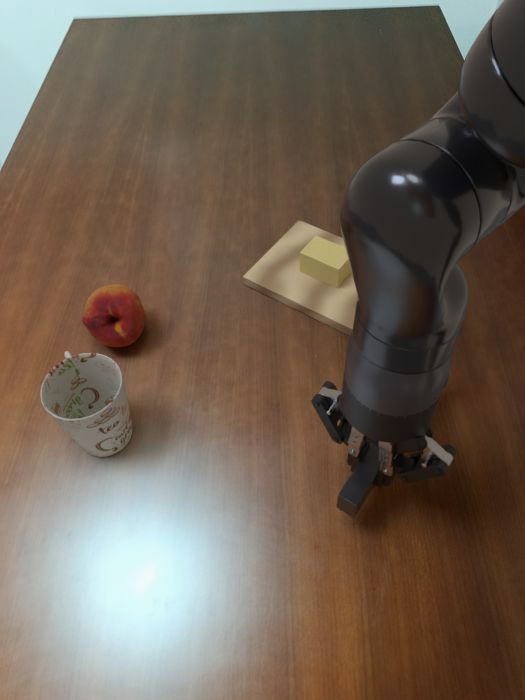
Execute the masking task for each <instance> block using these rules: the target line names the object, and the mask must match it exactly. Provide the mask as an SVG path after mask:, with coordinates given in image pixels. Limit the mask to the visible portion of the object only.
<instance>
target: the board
mask: <svg viewBox="0 0 525 700" xmlns="http://www.w3.org/2000/svg"><path fill="white" fill-rule="evenodd" d="M315 236H318V237H321V238H323V239H326V240H328V241H330V242H333V243H335V244H337V245H340V246H342V247H345V244H344V240H343V237H342V236H339V235H336V234H334V233H332V232H329V231H326V230H324V229H321V228H319V227H318V226H315V225H312V224H310V223H307V222H305V221H302V220H300V219H298V220H297V221H296V222H295V223H294V224H293V225H292V226H291V227H290V228H289V229H288V230H287V231H286V232H285V234H283V235H282V236H281V237H280V238H279V239H278V240H277V241H276V242H275V244H274V245H272V246H271V248H270V249H268V250H267V251H266V252H265V254H264V255H263V256H262V257H261V258H260V259H259V260H258V261H256V262H255V264H254V265H253V266H252V267H251V268H250V269H249V270H248V271H247V272H246V273H244V274H243V276H242V283H243V285H245V286H246V287H248V288H251V289H253V290H255V291H257V292H259V293H261V294H263V295H264V296H267V297H269V298H271V299H273V300H275V301H277V302H280V303H281V304H282V305H285V306H288V307H290V308H292V309H294V310H296V311H297V312H300V313H301V314H304V315H306V316H308V317H310V318H312V319H314V320H316V321H319V322H321V323H322V324H325V325H327V326H329V327H331V328H332V329H334V330H337V331H339V332H341V333H343V334H345V335H347V336H349V337H350V335H351V333H352V330H353V324H354V316H355V308H356V300H357V295H358V294H357V291H356V287H355V283H354V280H353V276H352V272H351V273H350V274H349V276H348V277H347V278H346V279H345V280H344V281H343V283H342V284H341V285H340V286H339V287H338V288H335V287H333V286H331V285H329V284H326V283H324V282H322V281H320V280H318V279H315V278H313V277H311V276H309V275H307V274H304V273H302V272H300V252H301V251H302V250H303V249H304V247H305V246H306V245H307V244H308V243H309V242H310V241H311V240H312V239H313V238H314V237H315Z"/></svg>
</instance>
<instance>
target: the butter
mask: <svg viewBox="0 0 525 700" xmlns="http://www.w3.org/2000/svg"><path fill="white" fill-rule="evenodd" d="M300 272H302V273H304V274H307V275H309V276H311V277H313V278H315V279H318V280H320V281H322V282H324V283H326V284H329V285H331V286H333V287H335V288H338V287H339V286H340V285H341V284H342V283H343V281H344V280H345V279H346V278H347V277H348V276H349V274H350V273H351V267H350V263H349V259H348V255H347V252H346V248H345V247H342V246H340V245H337V244H335V243H333V242H330V241H328V240H326V239H323V238H321V237H318V236H315V237H314V238H313V239H312V240H311V241H310V242H309V243H308V244H307V245H306V246H305V247H304V249H303V250H302V251H301V252H300Z"/></svg>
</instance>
